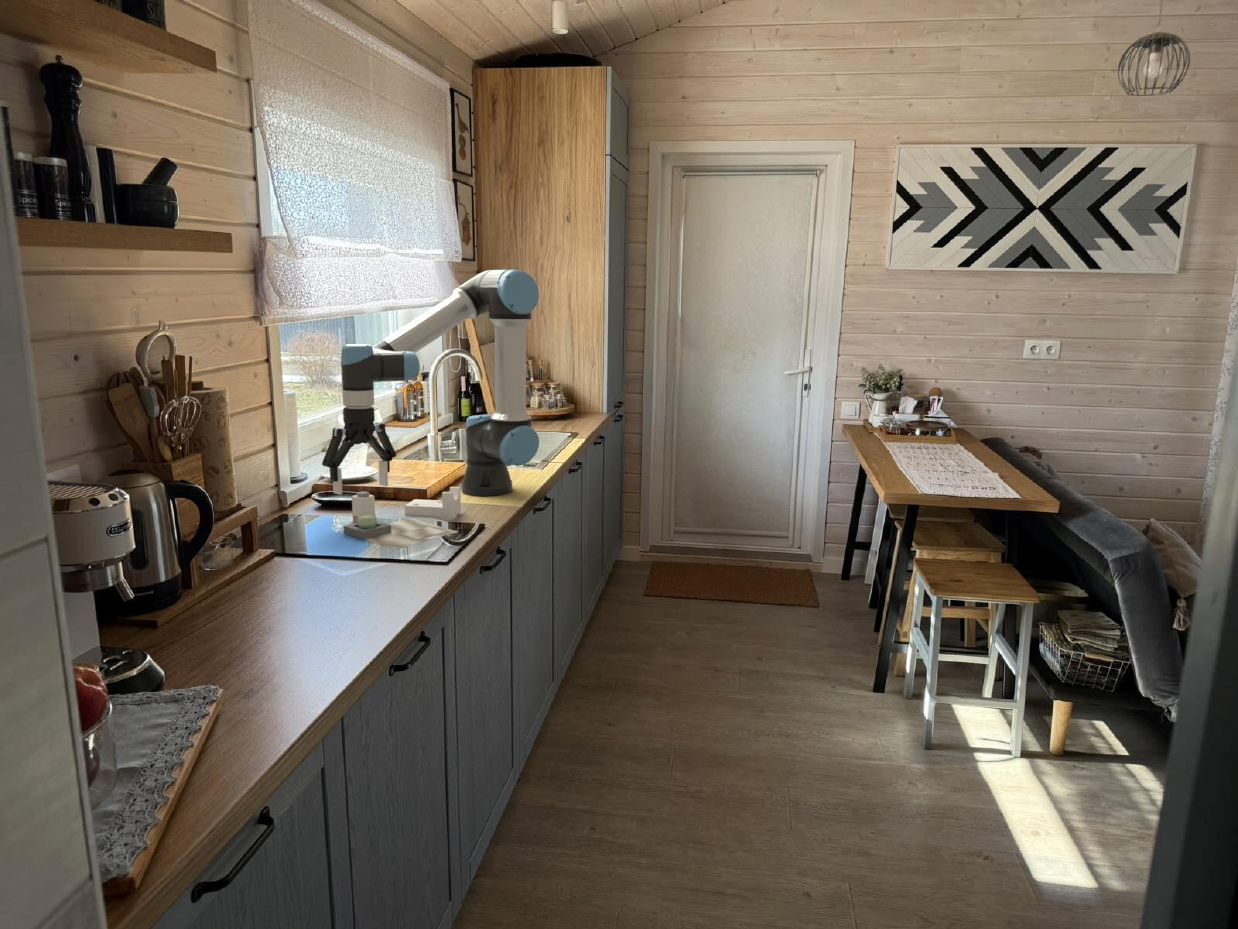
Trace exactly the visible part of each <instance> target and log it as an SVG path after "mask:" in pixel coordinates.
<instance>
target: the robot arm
mask: <svg viewBox="0 0 1238 929" xmlns="http://www.w3.org/2000/svg"><path fill="white" fill-rule="evenodd" d="M539 299H540V293H539V287H538V284H537V282H536V280H535V279H534V278H533V277H532V276H531V275H530V274H529V273H527V272H526V271H523V270H519V269H514V268H511V269H510V268H509V269H488V270H485V271H482V272H480V273H478V274H477V275H475V276H474V277H472V278H470V279H469V280H467V281H465V282H464V283H463V284H461V285H459V286H458V287H456V288H455V289H454V290H453V292H452V295H451V296H450V297H448V298H445V300H443V301H441V302H440V303H438V304H436V305H435V306H434V307H432V308H431V309H429V310H428V311H425V312H424V313H423V314H421V315H420V316H418V317H416V318H415V319H413V320H411V322H408V324H406V325H404V326H402V327H401V328H399V329H398V330H396V331H395V332H393V333H391V334H390V335H389V336H387V337H385V338H384V339H382V340H381V341H378V342H377V343H376V344H374V345H373V346H372V344H366V343H365V344H364V343H348V344H344V345H343V346H342V347H341V353H340V366H341V385H342V388H341V390H342V391H341V392H342V405H343V406H344V407H343V408H342V414H343V416H342V417H343V424H344V427H343V428H339V427H333V428H332V434H331V435H332V436H331V439H330V441H329V445H328V447H327V449H326V452H325V455H324V457H323V459H322V463H321V465H322V466H323V467H325V468H326V467H327V468H329V479H330V481H331V482H332V485H333V486H332V490H333V494H337V495H340V496H341V495H343V479H342V477H343V476H342V474H343V473H342V468H339V467H340V466H341V464H342V463H343V461H344V460H345V458H346V456H347V455H348V453H349V452H350V450H351V449H352V447H354V446H355V445H360V444H369V446H370V447H371V448H372V449H373V451H374V452H376V454H377V455H378V456H379V458H380V459H379V460H378V478H379V479H378V480H379V481H378V484H379V485H380V486H384V487H388V486H389V474H388V473H390V470H391V468H390V467H391V466H390V463H391V462H392V461H393V458H396V456H397V452H396V451H395V449H394V447H393V444H392V443H391V441H390V438H389V437H388V434H387V431H386V425H385V423H382V422H376V423H375V424H374V422H375V408H374V405H375V391H374V390H375V386H374V385H375V383H380V382H382V383H383V382H406V381H407V382H409V381H414V380H416V379H417V378H418V377H419V374H420V370H421V369H420V368H421V365H420V364H421V363H420V359H419V357H418V355H417V354H416V353H417V352H418V351H420V350H422V349H423V348H425V347H427V346H428V345H430V344H431V343H433V342H434V341H435V340H437V339H439V338H440V337H442V336H443V335H444V334H446V333H447V332H449V331H451V330H453V329H455V327H457V326H458V325H460V324H461V323H463V322H465V321H466V320H468V319H469V320H474V319H476V318H477V317H479V316H480V315H483V314H486V313H488V319H489V321H490V323H492V324H493V325H494V374H495V375H494V376H495V379H494V381H495V382H494V384H495V385H494V387H495V388H494V389H495V391H494V393H495V395H494V396H495V397H494V398H495V411H494V413H490V414H489V413H487V414H478V415H477V414H475V415H470V416H467V418H466V421H465V437H466V438H465V440H466V443H465V444H466V446H465V447H466V467H465V472H464V476H463V480H462V482H461V492H462V493H464V494H466V495H471V496H481V497H484V496H485V497H492V496H493V497H494V496H501V495H505V494H508V493H511V492H512V491H513V482H512V479H511V475H510V472H509V469H508V466H517V467H519V466H524V465H526V464H528V463H529V462H531V461H532V459H533V458H535V456H536V454H537V452H539V451H538V450H539V446H540V438H539V434H538V433H537V431H536V430H535V429H534V428H532V427H533V426H532V416H531V415H530V413H528V411H527V349H526V348H527V345H526V344H527V341H526V339H527V336H526V335H527V331H526V330H527V328H526V327H527V325H528V324H529V323H530V322H531V321H532V311H534V310H535V307H537V305H538V302H539ZM374 433H376V435H377V437H378V439H377V438H376V437H375V436H374ZM343 437H344V438H343ZM378 440H379V441H380V443H381V444H380V443H379V441H378ZM507 465H508V466H507Z"/></svg>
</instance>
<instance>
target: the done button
mask: <svg viewBox="0 0 1238 929" xmlns="http://www.w3.org/2000/svg"><path fill="white" fill-rule="evenodd" d="M377 521H378V520H377V516H376V515H375V516H373V515H364V516H360V517H358V528H362V529H369V528H373V527H377Z"/></svg>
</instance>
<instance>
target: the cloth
mask: <svg viewBox="0 0 1238 929" xmlns="http://www.w3.org/2000/svg"><path fill="white" fill-rule="evenodd" d="M388 524H389V525H391V533H389V534H385V535H381V536H377V537H374V538H370V539H366V540H365V541H367V542H371V543H374V544H376V545H379V546H384V547H387V548H389V549H393V550H399V549H401V548H406V547H408V546H413V545H417V544H421V543H424V542H428V541H431V540H435V539H438V538H441V537H442V538H443V537H446V536H449V535H452V534H456V533H457V534H458V531H457V530H453V529H450V528H446V527H443V526H441V525H440V526H439V525H436V524H432V523H428V522H426V521H425V522H424V521H422V520H417V519H415V518H410V517H409V518H406V519H403V520H397V521H394V522H390V523H388Z"/></svg>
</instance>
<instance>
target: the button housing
mask: <svg viewBox="0 0 1238 929" xmlns="http://www.w3.org/2000/svg"><path fill="white" fill-rule="evenodd" d="M389 533H391V525H389V523H385V522H382V521H378V520H377V527H373V528H369V529H362V528H358V523H357V522H353V523H350V524H346V525H343V534H344V535H346V536H350V537H353V538H356V539H359V540H364V541H367V540H366V539H370V538H374V537H377V536H381V535H385V534H389Z"/></svg>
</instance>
